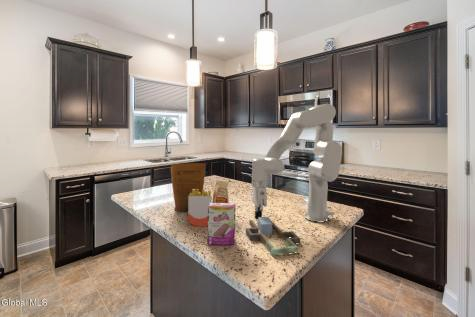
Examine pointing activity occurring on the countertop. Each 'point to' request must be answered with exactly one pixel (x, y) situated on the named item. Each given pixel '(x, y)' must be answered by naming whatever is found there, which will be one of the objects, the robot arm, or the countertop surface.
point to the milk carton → (221, 192)
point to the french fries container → (198, 207)
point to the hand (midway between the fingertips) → (258, 218)
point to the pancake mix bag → (186, 182)
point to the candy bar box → (221, 223)
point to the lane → (255, 235)
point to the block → (265, 225)
